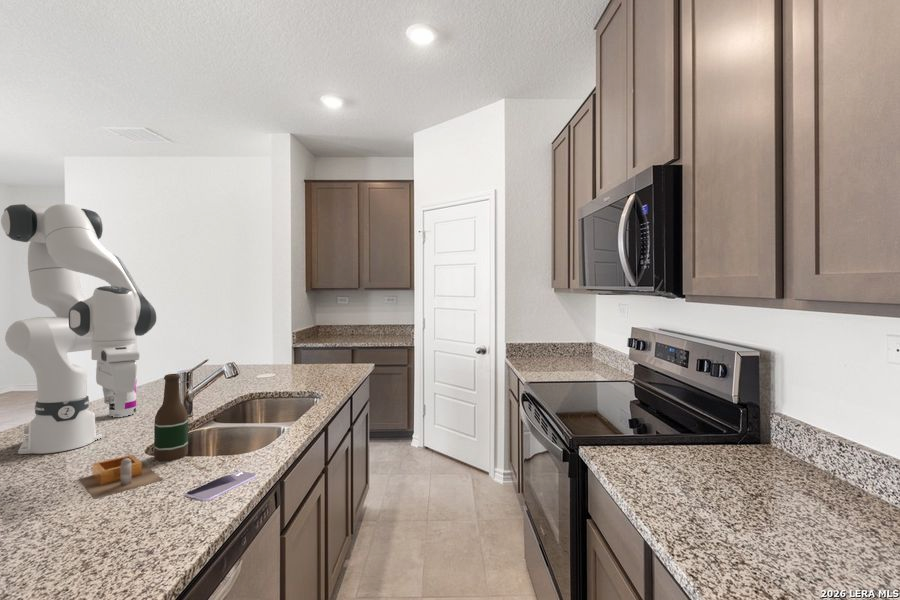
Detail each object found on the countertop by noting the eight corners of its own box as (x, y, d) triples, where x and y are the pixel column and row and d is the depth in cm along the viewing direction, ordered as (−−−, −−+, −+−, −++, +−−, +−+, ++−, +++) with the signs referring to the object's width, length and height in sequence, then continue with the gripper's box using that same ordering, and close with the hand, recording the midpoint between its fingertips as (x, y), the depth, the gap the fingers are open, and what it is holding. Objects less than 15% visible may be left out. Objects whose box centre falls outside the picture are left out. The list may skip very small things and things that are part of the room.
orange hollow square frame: (92, 475, 104) (92, 463, 104) (132, 466, 110) (132, 454, 110) (100, 485, 99) (100, 472, 99) (141, 474, 105) (141, 462, 105)
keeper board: (78, 484, 102) (78, 453, 102) (143, 468, 112) (143, 440, 112) (94, 505, 92) (94, 471, 92) (163, 486, 102) (164, 454, 102)
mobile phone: (182, 493, 98) (236, 468, 112) (182, 497, 98) (236, 472, 112) (207, 498, 95) (259, 473, 109) (207, 503, 95) (259, 477, 109)
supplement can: (135, 411, 168) (135, 373, 168) (136, 415, 161) (137, 376, 161) (108, 414, 163) (109, 375, 163) (109, 419, 156) (109, 378, 156)
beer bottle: (171, 468, 113) (172, 377, 113) (146, 465, 114) (147, 376, 114) (194, 457, 121) (195, 372, 120) (171, 455, 122) (171, 371, 122)
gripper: (88, 349, 111) (88, 402, 111) (109, 355, 98) (108, 416, 98) (118, 347, 116) (118, 398, 116) (141, 353, 103) (141, 410, 103)
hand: (114, 406), depth 107 cm, fingers open, 8 cm apart
